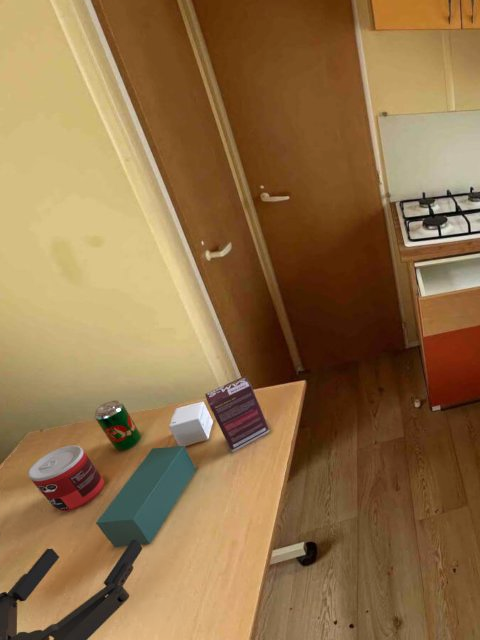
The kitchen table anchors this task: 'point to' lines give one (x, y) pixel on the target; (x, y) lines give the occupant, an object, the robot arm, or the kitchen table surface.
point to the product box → (191, 424)
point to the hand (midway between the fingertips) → (95, 548)
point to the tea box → (147, 497)
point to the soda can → (117, 425)
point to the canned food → (67, 478)
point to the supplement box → (237, 413)
